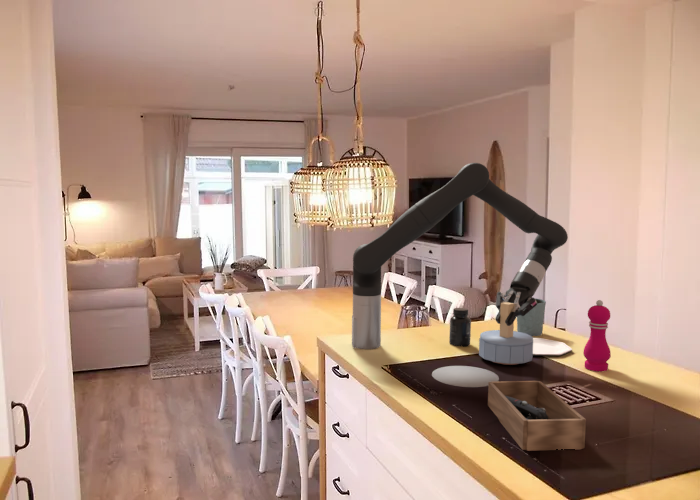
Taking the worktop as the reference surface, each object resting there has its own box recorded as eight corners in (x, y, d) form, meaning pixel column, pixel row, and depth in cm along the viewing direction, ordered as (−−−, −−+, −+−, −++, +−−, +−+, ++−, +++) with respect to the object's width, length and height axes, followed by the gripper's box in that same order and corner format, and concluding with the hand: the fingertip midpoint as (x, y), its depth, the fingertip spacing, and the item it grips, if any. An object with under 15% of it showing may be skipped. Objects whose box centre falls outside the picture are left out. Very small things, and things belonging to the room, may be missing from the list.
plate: (525, 339, 201) (525, 334, 201) (580, 350, 187) (581, 345, 187) (494, 349, 187) (494, 345, 187) (551, 362, 173) (551, 357, 173)
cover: (511, 366, 163) (513, 310, 161) (469, 354, 174) (470, 302, 173) (542, 357, 172) (544, 304, 170) (500, 346, 184) (502, 296, 182)
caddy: (523, 450, 114) (524, 421, 113) (487, 406, 137) (488, 381, 137) (585, 449, 115) (586, 420, 114) (539, 405, 138) (540, 380, 138)
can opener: (556, 436, 121) (557, 410, 120) (527, 440, 119) (528, 414, 118) (508, 406, 138) (509, 383, 137) (482, 409, 136) (483, 386, 135)
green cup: (542, 330, 211) (543, 298, 210) (546, 337, 202) (548, 303, 200) (513, 329, 213) (514, 297, 212) (516, 336, 203) (517, 302, 202)
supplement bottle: (472, 347, 188) (473, 311, 187) (451, 347, 188) (451, 311, 187) (468, 342, 195) (469, 307, 194) (447, 341, 195) (448, 306, 194)
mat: (439, 389, 149) (439, 387, 149) (426, 367, 167) (426, 366, 167) (508, 387, 150) (508, 386, 150) (487, 366, 168) (487, 365, 168)
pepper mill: (608, 366, 169) (612, 298, 167) (611, 373, 162) (614, 303, 160) (582, 363, 172) (585, 297, 169) (583, 370, 165) (586, 301, 163)
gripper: (504, 268, 181) (478, 311, 174) (544, 273, 170) (517, 319, 163) (513, 283, 184) (488, 326, 178) (553, 289, 174) (527, 335, 167)
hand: (502, 322), depth 171 cm, fingers closed on cover, 2 cm apart
